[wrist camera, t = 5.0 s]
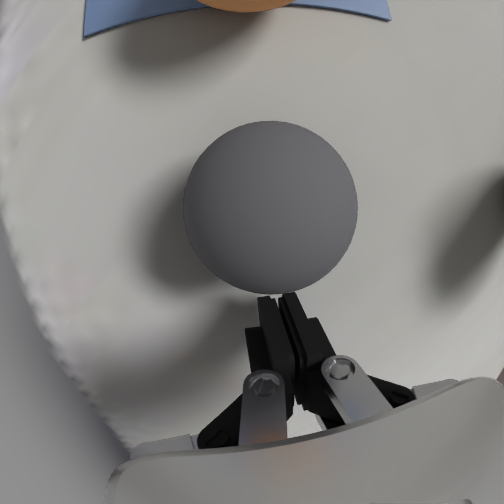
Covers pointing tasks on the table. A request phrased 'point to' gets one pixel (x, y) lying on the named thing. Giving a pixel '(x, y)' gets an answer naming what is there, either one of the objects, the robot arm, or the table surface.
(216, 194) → the gray ball
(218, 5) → the orange ball
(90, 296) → the table surface
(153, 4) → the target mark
